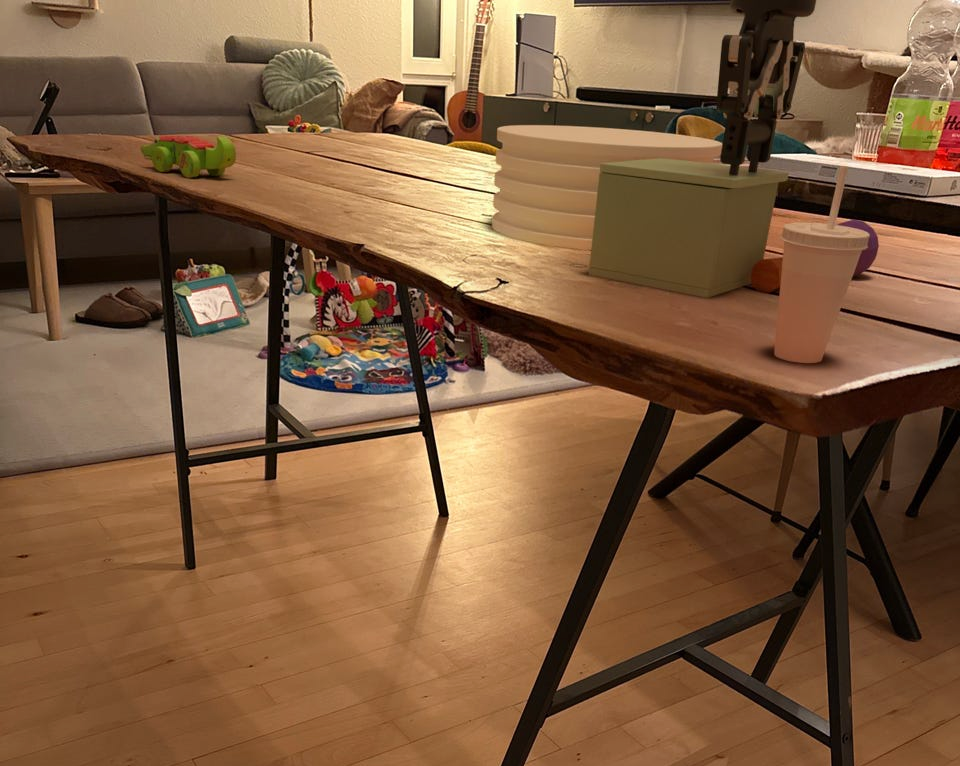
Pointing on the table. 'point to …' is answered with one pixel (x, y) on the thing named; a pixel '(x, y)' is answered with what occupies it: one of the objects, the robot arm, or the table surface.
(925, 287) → the table surface
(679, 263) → the compartment
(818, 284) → the smoothie
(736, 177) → the compartment lid
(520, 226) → the plate stack
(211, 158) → the toy crocodile
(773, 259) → the kendama
